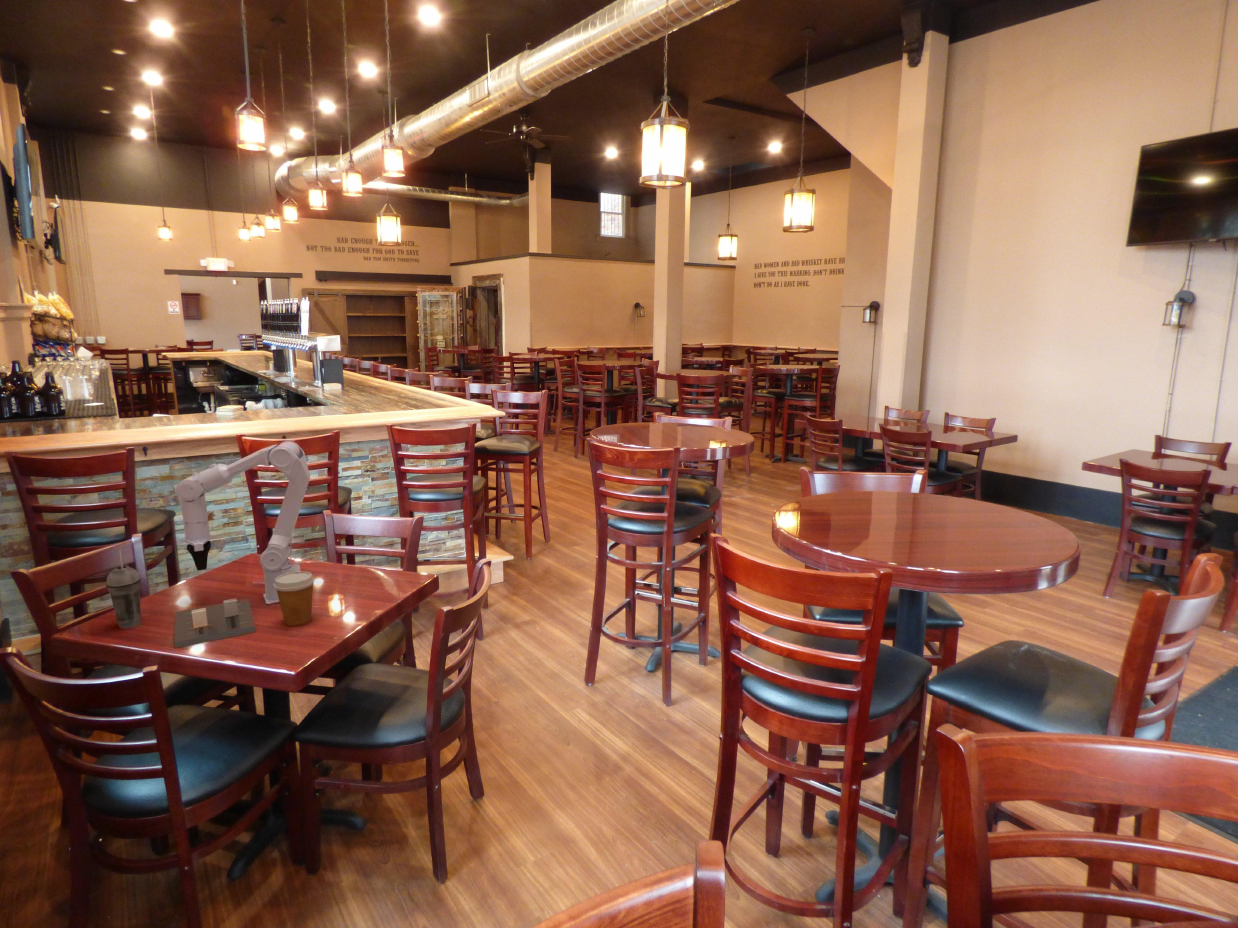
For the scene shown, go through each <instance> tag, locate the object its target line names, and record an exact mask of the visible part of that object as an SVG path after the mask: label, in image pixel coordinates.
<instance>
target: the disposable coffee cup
mask: <svg viewBox="0 0 1238 928" xmlns="http://www.w3.org/2000/svg"><path fill="white" fill-rule="evenodd" d="M314 582H315V578H314V576H313V574H312V573H311V572H309V571H303V570H302V571H298V572H290V573H286V574H283V575H280V576H278V577H277V578H276V579H275V583H274V587H275V589H276V590H277V594H278V598H279V602H278V603H279V605H280V609H281V613H282V617H283V621H284V624H285V625H286V626H288V627H298V626H302V625H305V624H307V623H309V622H311V621H312V611H313V589H314V588H313V587H314Z"/></svg>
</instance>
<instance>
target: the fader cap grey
mask: <svg viewBox="0 0 1238 928" xmlns="http://www.w3.org/2000/svg"><path fill="white" fill-rule="evenodd" d="M237 601H238V599H237V598H232V599H226V600H223V601H222V602H223V603H224V611H225V618H226V617H231V616H236V615H239V614H238V606H237Z"/></svg>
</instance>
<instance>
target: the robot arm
mask: <svg viewBox="0 0 1238 928" xmlns="http://www.w3.org/2000/svg"><path fill="white" fill-rule="evenodd" d="M260 465H261V466H264V467H271V466H272V467H274V468H275V469H276V470H278V471H279V472H281V473H282V474H283V475H284V476H285V478H286V479H287V480H288V484H287V487H286V491H285V493H284V494H285V495H284V497H283V500H282V503H281V507H280V511H279V513H278V516H277V519H276V522H275V526H274V530H273V532H272V535H271V537H270V539H269V541H268V543H267V547H266V549H265V550H264V551H263V552H262V553H261V555H260V556H259V562H260V565H261V567H262V570H263V580H264V590H265V593H263V599H264V601H265V604H266V605H271V604H275V603H280V602H279V598H278V594H277V590H276V589H275V587H274V583H275V579H276V578H277V577H278V576H280V575H283V574H286V573H290V572H298V571H301V566H300V564H299V563H296V564H295V563H294V564H293V563H292V562H291V559H289V558H290V557H291V555H292V552H293V549H292V540H293V533H294V530H295V527H296V525H297V521H298V517H299V514H300V511H301V507H302V506H303V505H302V504H303V502H304V499H305V495H306V492H307V489H308V486H309V483H310V479H311V473H310V470H309V467H308V464H307V461H306V455H305V452H304V450H303V449H302V448H301V446H299V445H298V443H297V442H294V441H292V440H285V441H282V442H280V444H279V445H278V443H277V444H273V445H269V446H267V447H264V448H261V449H259V450H257V451H255V452H253V453H251V454H249V455H246V456H245V457H243V458H241V459H239V460H238V459H237V460H236V461H235V462H232V463H230V464H224V463H217V464H216V463H213V464H212V463H211V464H210V465H208V467H209V468H207V469H204V470H202V471H200V472H197V471H195V472H194V473H192V475H191V476H188V477H186V478H185V479H183V480H181V481H179V482H178V484H177V485H176V487H175V494H176V496H177V497H178V498H179V499H180V505H181V513H182V522H183V530H184V537H182V538H180V543H186V550H187V551H188V553H189V554H190V555H191V557H192V560H193V562H194V565H195V568H196V570H197V572H198V571H205V570H207V568H208V556H209V553H210V550H211V547H212V544H211V539H212V535H211V533H210V523H209V516H208V508H207V503H206V501H207V500H206V494H208V493H211V492H213V491H215V490H218V489H219V488H222V487H224V486H226V485H228V484H230V483H232V482H233V478H234V476H236V475H240V474H241V473H243V472H246V471H249V470H250V469H253V468H255V467H256V468H257V466H260Z"/></svg>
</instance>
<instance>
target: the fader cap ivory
mask: <svg viewBox="0 0 1238 928" xmlns="http://www.w3.org/2000/svg"><path fill="white" fill-rule="evenodd" d="M192 619H193V626H194V628H196V627H201V626H206V625H208V623H207V615H206V608H203V609H198V610H192Z"/></svg>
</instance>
